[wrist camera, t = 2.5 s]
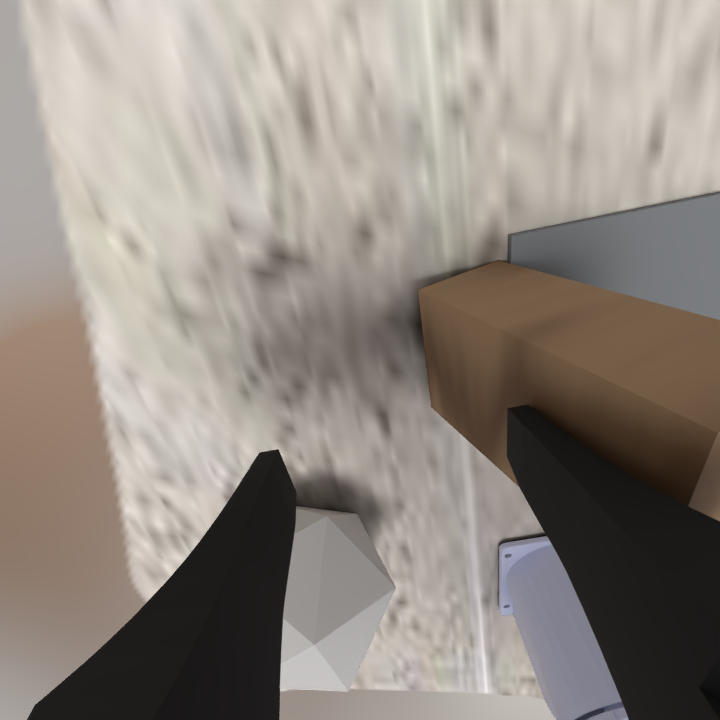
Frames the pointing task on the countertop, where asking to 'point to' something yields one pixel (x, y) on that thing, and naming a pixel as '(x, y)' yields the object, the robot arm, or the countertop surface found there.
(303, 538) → the die
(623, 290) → the mat
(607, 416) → the walnut block
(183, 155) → the countertop surface
